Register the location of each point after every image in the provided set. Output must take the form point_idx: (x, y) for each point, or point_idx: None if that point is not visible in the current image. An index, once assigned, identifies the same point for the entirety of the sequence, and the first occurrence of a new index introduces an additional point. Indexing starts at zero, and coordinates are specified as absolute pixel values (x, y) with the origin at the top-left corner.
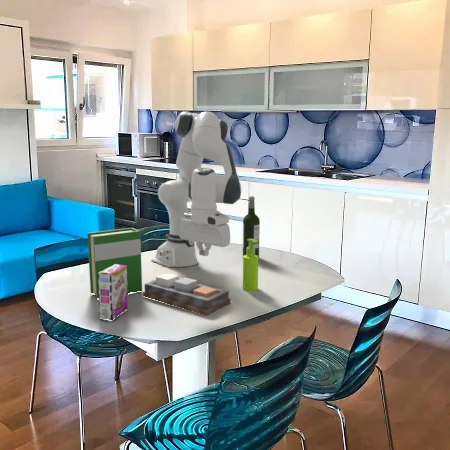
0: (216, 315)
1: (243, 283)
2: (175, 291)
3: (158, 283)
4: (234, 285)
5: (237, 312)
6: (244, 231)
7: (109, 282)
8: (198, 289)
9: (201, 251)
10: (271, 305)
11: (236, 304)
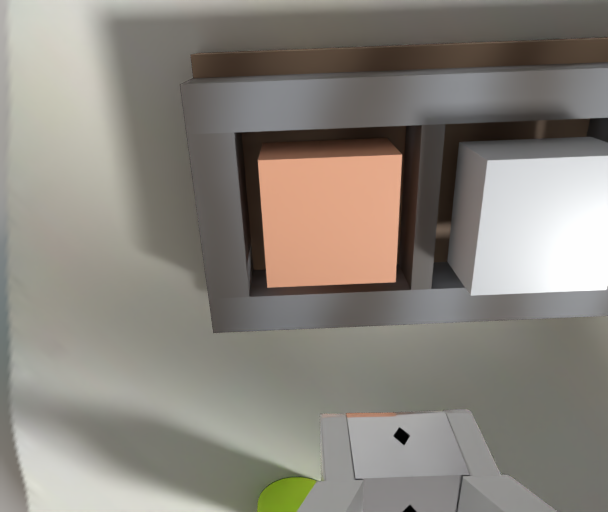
0: (153, 104)
1: None
2: (545, 82)
3: None
4: None
5: (99, 225)
6: None
7: None
8: (379, 199)
9: (428, 462)
10: (51, 404)
11: (195, 313)
